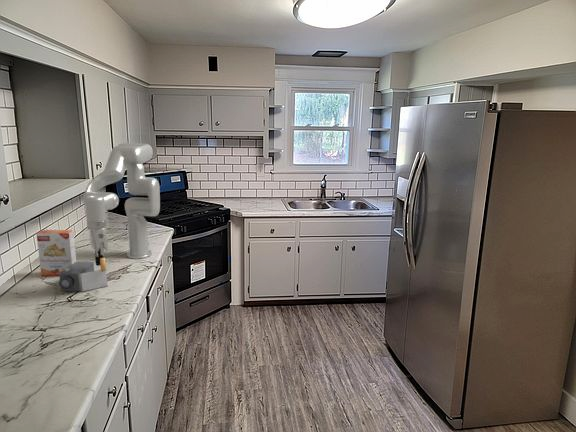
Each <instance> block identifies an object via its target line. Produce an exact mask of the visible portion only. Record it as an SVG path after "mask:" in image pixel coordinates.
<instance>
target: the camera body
mask: <svg viewBox="0 0 576 432" xmlns="http://www.w3.org/2000/svg"><path fill="white" fill-rule="evenodd" d="M94 263H95V262H94V261H76V262H75V263H73V264H72V265H70V266H69V267H68V268H66V269H65V270H63V271H62V272H60V273H59V275H58V277H59V286H60V291H61V292H80V288H79V278H78V274H79V273H81V274H82V273H87V272H93V271H95V266H94Z"/></svg>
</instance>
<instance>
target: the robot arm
mask: <svg viewBox="0 0 576 432" xmlns="http://www.w3.org/2000/svg"><path fill="white" fill-rule="evenodd" d="M153 154H154V150H153V147H152V146H151V145H150V144H149V143H138V142H137V143H136V142H133V143H132V142H124V143H119V144H118V145H116V146H114V147H112V149H111V151H110V154H109V156H108V159H107V161H106V165H105V167H104V170H103V171H102V172H100V173H99V174H97V175H96V176H94V178H92V179H91V180H90V181H89V182H88V184H87V186H86V188H85V191H84V195H83V198H82V199H83V200H82V202H83V204H84V207H85V217H86V227H87V230H89V241H90V246H91V248H92V249H93V250H94V257H95V265H96V266H101V265H100V258H105V251H108V250H109V242H108V235H107V231H106V228H107V227H108V225H107V216H106V215H107V214H106V211H110V210H113V209H115V208H117V207H118V206H119V202H120V199H119V197H118V195H117V194H116V193H114V192H108V191H107V192H105V191H100V190H101V189H102V188H104V187H105V186H108V185H111V184H115V183H117V182H119V181H121V180H122V179H123V178H124V176H125V172H126V180H127V181H126V183H127V186H126V187H127V191H128V194H130V195H134V196H136V197H129V198H127V199H126V200H125V203H124V210H125V214H126V218H127V226H128V227H127V229H128V243H129V244H128V245H129V251H128V252H127V253H126V257H127V258H129V259H134V260H135V259H139V260H140V259H145V258H148V257H151V256H152V254H153V252H152V251H151V249H149V245H150V244H149V236H148V232H149V231H148V223H147V220H146V218H145V217H156V216H158V215H159V213H160V212H161V211H160V210H161V195H160V193H161V190H160V189H161V187H160V183H159V180H158V179H157V178H155V177H152V176H151V177H148V176H146V175H145V166H144V164H145V163H147V162H149V161H151V160H152V158H153ZM137 196H147V197H137ZM104 250H105V251H104Z"/></svg>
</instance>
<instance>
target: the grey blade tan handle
mask: <svg viewBox="0 0 576 432" xmlns="http://www.w3.org/2000/svg"><path fill="white" fill-rule="evenodd" d="M106 265H107V264H106V258H105V257H104V258H100V265H99V266H100V270H99V269H98V270H94V271H93V272H87V273H82V274H81V273H79V274H78V278H79V288H80V291H79V292H80V293H81V292H86V291H90V290H95V289H99V288H102V287H108V277H107V276H108V275H107V266H106Z"/></svg>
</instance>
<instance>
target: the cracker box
mask: <svg viewBox="0 0 576 432" xmlns="http://www.w3.org/2000/svg"><path fill="white" fill-rule="evenodd" d="M36 240H37V249H38V259H39V265H40V266H39V267H40V274H41V276H42V277H43V276H44V277H47V276H48V277H49V276H53V277H54V276H55V277H56V276H59V273H60V272H62V271H63V270H65V269H66V268H68V267H69V266H70V265H72V264H73V263H75V262H77V253H76V244H75V243H76V242H75V233H74V229H66V230H65V229H41V230H40V231H38V232H37V233H36Z"/></svg>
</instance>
